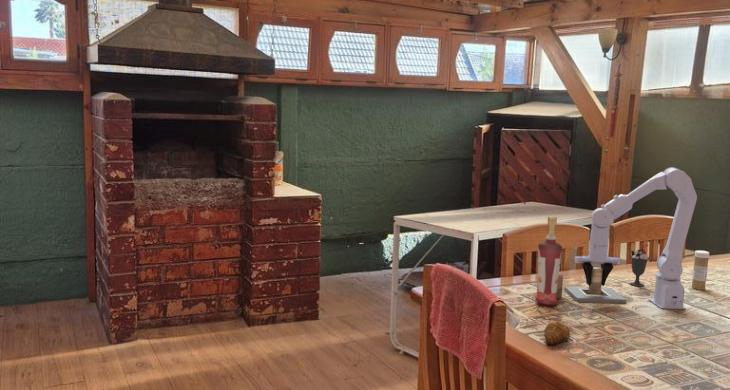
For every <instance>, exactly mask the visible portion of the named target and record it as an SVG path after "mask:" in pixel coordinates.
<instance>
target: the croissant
mask: <svg viewBox="0 0 730 390" xmlns="http://www.w3.org/2000/svg"><path fill="white" fill-rule="evenodd" d="M543 331H544V339H545V343H546V344H547V345H548V346H554V345H559V344H560V343H562V342H565V341H566V340H567V339H568V338H569V337H570V335H571V333H570V332H571V331H570V328H569V326H568V325H565V324H563V323H561V322H559V321H556V322H549V323H548V324H547V325H546V327H545V328H544V330H543Z"/></svg>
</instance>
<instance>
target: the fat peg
mask: <svg viewBox="0 0 730 390" xmlns="http://www.w3.org/2000/svg"><path fill="white" fill-rule="evenodd" d="M563 282H564V275H563V274H561V273H559V277H558V285H557V295H556V299H560V298H562V295H563V284H564V283H563Z"/></svg>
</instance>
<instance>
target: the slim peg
mask: <svg viewBox="0 0 730 390" xmlns="http://www.w3.org/2000/svg"><path fill="white" fill-rule="evenodd" d="M602 273H603V269H601V267H595V266H593V270H592V275H591V285H588V287H589V288H588V292H589V293H588V294H593V295H599V294H600V293H601V288H602Z"/></svg>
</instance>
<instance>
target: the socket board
mask: <svg viewBox="0 0 730 390" xmlns="http://www.w3.org/2000/svg"><path fill="white" fill-rule="evenodd" d="M588 288H589V286H588V287H584V286H564V291H565V293H567V294H568V295H569V296H570V297H571V298H572V299H573V300H574V301H576V302H577V303H607V304H610V303H611V304H612V303H613V304H626V303H627V299H626V298H625V297H624V296H622V295H621V294H619V292H618V291H616V290H615V289H613V288H611V287H601V293H600V294H601V295H590V293H589V292H588ZM588 294H589V295H588Z"/></svg>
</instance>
